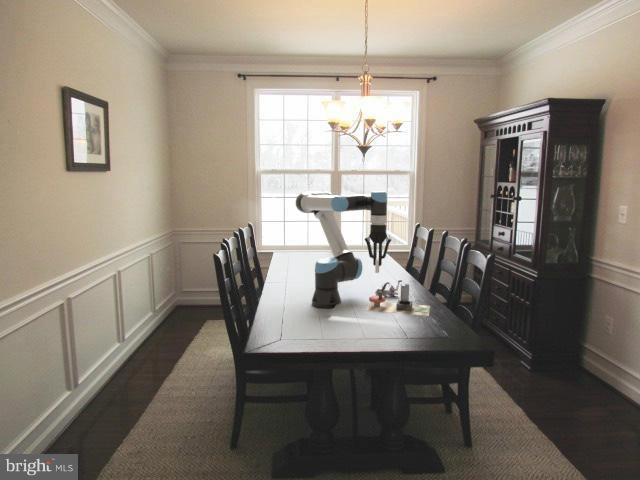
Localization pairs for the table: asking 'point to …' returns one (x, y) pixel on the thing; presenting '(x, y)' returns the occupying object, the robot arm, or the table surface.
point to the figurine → (388, 292)
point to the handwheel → (377, 299)
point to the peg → (404, 294)
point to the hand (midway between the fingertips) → (377, 272)
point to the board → (400, 308)
